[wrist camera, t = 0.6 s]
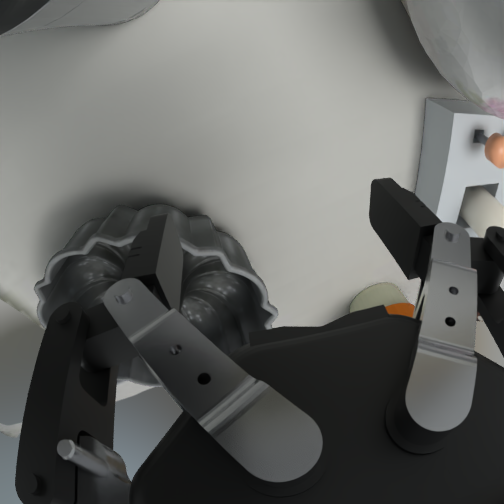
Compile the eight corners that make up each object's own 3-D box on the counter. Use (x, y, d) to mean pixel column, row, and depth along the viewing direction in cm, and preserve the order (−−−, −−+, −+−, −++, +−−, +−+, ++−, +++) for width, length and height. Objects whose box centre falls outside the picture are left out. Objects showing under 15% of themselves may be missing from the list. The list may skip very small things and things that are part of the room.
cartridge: (448, 172, 32) (518, 243, 22) (478, 170, 32) (545, 234, 22) (440, 209, 35) (499, 282, 25) (469, 204, 35) (526, 271, 25)
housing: (426, 98, 26) (454, 113, 23) (503, 105, 26) (529, 120, 23) (405, 240, 40) (422, 264, 36) (475, 225, 40) (492, 245, 36)
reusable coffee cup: (351, 276, 43) (389, 367, 32) (419, 271, 45) (462, 348, 33) (330, 328, 51) (355, 407, 40) (391, 320, 53) (421, 390, 42)
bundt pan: (294, 198, 34) (320, 259, 26) (236, 337, 50) (242, 393, 42) (53, 162, 27) (9, 217, 19) (75, 318, 43) (61, 373, 35)
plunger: (472, 122, 23) (498, 139, 20) (491, 124, 23) (516, 140, 20) (467, 150, 25) (491, 169, 22) (486, 150, 25) (509, 168, 22)
